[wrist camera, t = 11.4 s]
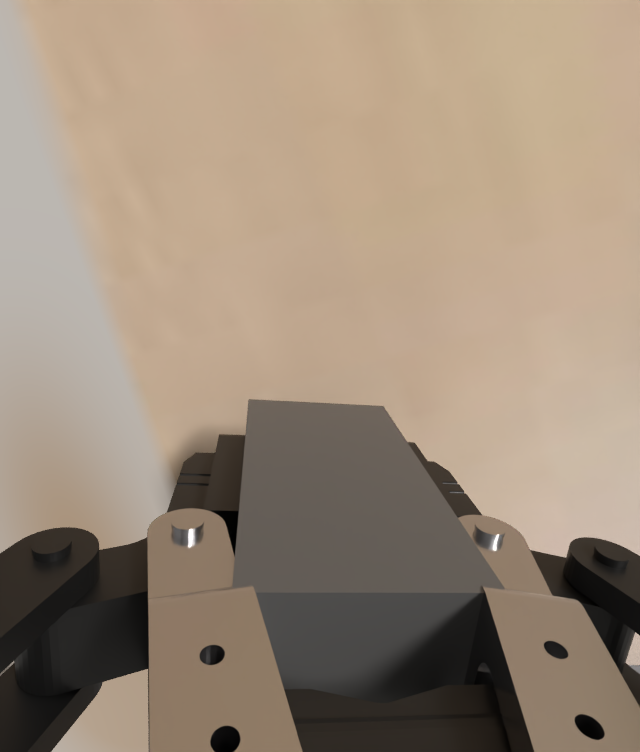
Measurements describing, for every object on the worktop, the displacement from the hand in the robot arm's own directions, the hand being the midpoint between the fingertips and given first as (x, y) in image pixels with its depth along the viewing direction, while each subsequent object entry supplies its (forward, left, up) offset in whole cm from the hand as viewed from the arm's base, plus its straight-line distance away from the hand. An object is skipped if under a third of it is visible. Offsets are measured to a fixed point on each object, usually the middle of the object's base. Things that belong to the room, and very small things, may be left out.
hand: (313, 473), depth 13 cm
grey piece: (0, -4, -1) cm, 4 cm away
